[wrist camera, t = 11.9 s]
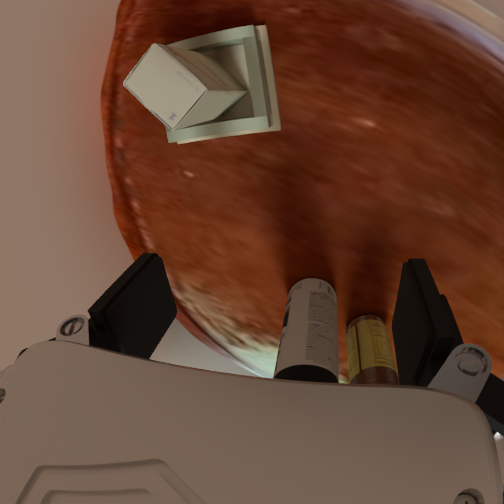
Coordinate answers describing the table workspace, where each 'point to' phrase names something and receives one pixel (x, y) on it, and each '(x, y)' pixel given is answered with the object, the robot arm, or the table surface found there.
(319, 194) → the table surface
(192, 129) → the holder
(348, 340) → the sauce bottle
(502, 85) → the table surface
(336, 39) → the table surface
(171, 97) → the skincare box
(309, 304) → the spray can
